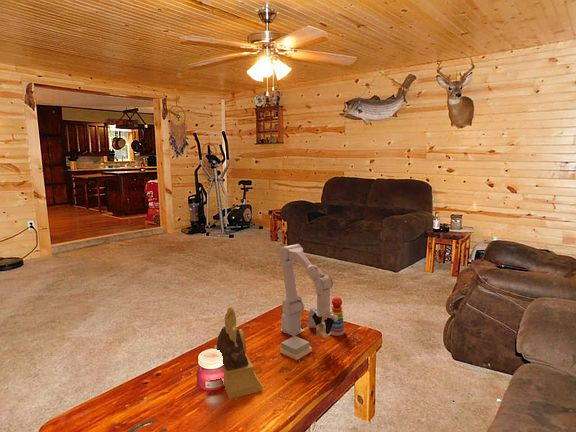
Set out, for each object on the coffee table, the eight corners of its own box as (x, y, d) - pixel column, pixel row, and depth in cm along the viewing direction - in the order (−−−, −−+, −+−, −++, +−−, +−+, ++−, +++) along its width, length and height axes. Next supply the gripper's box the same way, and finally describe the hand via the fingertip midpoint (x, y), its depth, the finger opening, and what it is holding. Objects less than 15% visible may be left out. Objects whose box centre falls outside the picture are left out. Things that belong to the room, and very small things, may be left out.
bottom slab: (280, 353, 176) (280, 348, 175) (295, 345, 183) (295, 340, 182) (296, 361, 169) (296, 356, 168) (311, 352, 176) (311, 347, 176)
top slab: (281, 347, 176) (281, 342, 175) (294, 340, 182) (294, 335, 182) (295, 354, 169) (295, 349, 169) (309, 347, 176) (309, 342, 175)
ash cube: (316, 335, 176) (316, 325, 176) (322, 331, 180) (322, 322, 179) (324, 338, 173) (324, 328, 172) (330, 334, 177) (330, 325, 176)
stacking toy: (325, 332, 194) (325, 296, 191) (336, 327, 199) (337, 292, 196) (336, 338, 188) (336, 301, 185) (348, 333, 192) (348, 297, 189)
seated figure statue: (262, 390, 148) (260, 316, 143) (229, 399, 143) (225, 322, 138) (242, 355, 174) (239, 291, 169) (213, 361, 169) (210, 295, 164)
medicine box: (324, 324, 202) (324, 308, 201) (324, 328, 198) (324, 312, 197) (308, 324, 203) (308, 308, 202) (308, 328, 199) (308, 312, 197)
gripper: (305, 301, 176) (305, 329, 178) (331, 309, 166) (331, 339, 168) (315, 297, 181) (315, 324, 183) (340, 304, 171) (340, 333, 173)
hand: (323, 331), depth 176 cm, fingers closed on ash cube, 5 cm apart
